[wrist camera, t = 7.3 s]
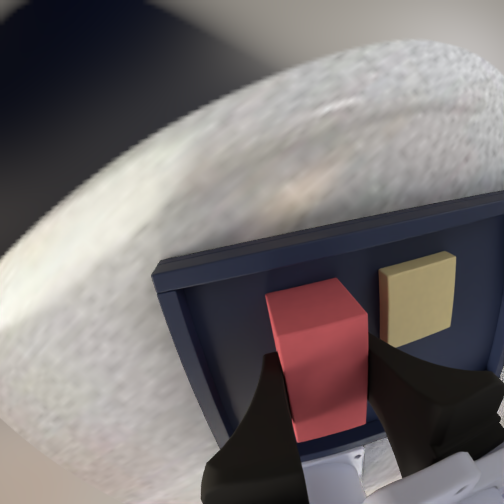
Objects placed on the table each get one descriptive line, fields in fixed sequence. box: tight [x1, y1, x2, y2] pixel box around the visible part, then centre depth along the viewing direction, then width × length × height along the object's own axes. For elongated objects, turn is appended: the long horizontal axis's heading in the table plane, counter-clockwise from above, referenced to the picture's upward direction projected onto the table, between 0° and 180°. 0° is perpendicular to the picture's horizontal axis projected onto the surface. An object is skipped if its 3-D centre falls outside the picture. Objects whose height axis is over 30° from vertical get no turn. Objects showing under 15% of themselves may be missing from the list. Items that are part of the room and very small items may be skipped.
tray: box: [151, 190, 504, 463], centre depth 14 cm, size 14×20×2 cm
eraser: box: [265, 278, 368, 443], centre depth 12 cm, size 6×3×4 cm, turn 12°
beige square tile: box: [379, 251, 456, 348], centre depth 13 cm, size 4×4×1 cm
